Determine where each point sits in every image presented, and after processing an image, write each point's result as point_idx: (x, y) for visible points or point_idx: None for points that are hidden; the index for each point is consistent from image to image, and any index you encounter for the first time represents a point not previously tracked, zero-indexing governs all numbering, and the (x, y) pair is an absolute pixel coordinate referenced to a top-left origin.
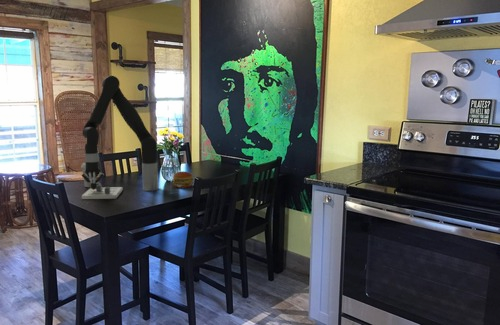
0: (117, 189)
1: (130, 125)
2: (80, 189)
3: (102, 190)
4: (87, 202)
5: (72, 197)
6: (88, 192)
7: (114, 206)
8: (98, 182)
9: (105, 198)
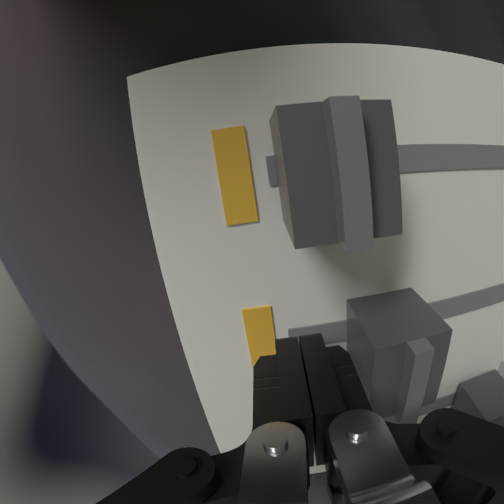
0: None
1: None
2: (6, 66)
3: (410, 269)
4: (315, 494)
5: (111, 409)
6: (238, 391)
7: None
8: (353, 149)
9: None
